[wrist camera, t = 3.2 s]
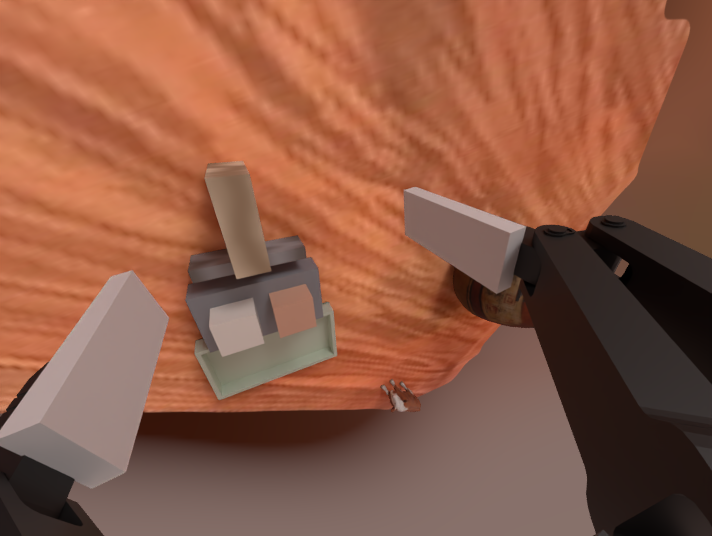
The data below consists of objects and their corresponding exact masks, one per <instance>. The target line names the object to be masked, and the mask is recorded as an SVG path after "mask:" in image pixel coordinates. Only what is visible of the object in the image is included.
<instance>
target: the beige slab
mask: <svg viewBox="0 0 712 536" xmlns="http://www.w3.org/2000/svg"><path fill="white" fill-rule="evenodd" d="M205 182H206V185H207V188H208V191H209V194H210V197H211V200H212V203H213V207H214V210H215V213H216V216H217V219H218V222H219V225H220V229H221V232H222V235H223V238H224V241H225V244H226V247H227V249H223V250H218V251H212V252H207V253H202V254H197V255H191V258H190V263H189V268H188V273H189V275H190V278H191V280H192V282H193V283H197V282H202V281H206V280H211V279H215V278H220V277H224V276H229V275H233V274H235V276H236V279H240V278H244V277H249V276H253V275H257V274H262V273H266V272H270V271H271V267H270V266H273V265H278V264H282V263H287V262H291V261H296V260H300V259H305V258H306V251H305V246H304V245H303V243H302V242H301V240H300V239H299V237H298V235H297V236H292V237H287V238H281V239H276V240H271V241H265V240H264V236H263V231H262V227H261V223H260V218H259V214H258V209H257V205H256V200H255V196H254V192H253V187H252V183H251V178H250V174H249V172H248V170H247V168H246V166H245V164H244V162H243V161H236V162H223V163H210V164H208V166H207V170H206V174H205Z"/></svg>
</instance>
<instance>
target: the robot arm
mask: <svg viewBox="0 0 712 536" xmlns="http://www.w3.org/2000/svg"><path fill="white" fill-rule="evenodd" d="M404 214H405V235H406V236H408V237H409V238H411V239H412V240H414V241H416V242H417V243H419V244H420V245H422V246H423V247H425V248H426V249H428V250H429V251H431V252H433V253H434V254H436V255H437V256H439V257H440V258H442V259H443V260H445V261H446V262H448V263H450V264H451V265H453V266H454V267H456V268H457V269H459V270H460V271H462V272H464V273H465V274H467V275H468V276H470V277H471V278H473V279H474V280H476V281H477V282H479V283H481V284H482V285H484V286H485V287H487V288H488V289H490V290H491V291H493V292H495V293H496V294H497V293H499V292H502V291H504V290H506V289H508V288H510V287H511V283H512V280H513V276H514V275H515V276H517V277H519V278H521V280H520V284H519V287H518V291H517V294H516V301H519V298H520V297H521V296H522V295H523V298H524V299H523V302H525V303H526V306H527V309H528V312H529V314H530V317H531V320H532V323H533V325H534V328H535V330H536V333H537V336H538V339H539V342H540V345H541V347H542V350H543V353H544V355H545V358H546V361H547V364H548V367H549V369H550V372H551V375H552V377H553V380H554V383H555V386H556V388H557V391H558V394H559V397H560V399H561V402H562V405H563V408H564V411H565V413H566V416H567V419H568V421H569V424H570V427H571V430H572V432H573V435H574V438H575V441H576V443H577V446H578V449H579V452H580V454H581V457H582V460H583V463H584V465H585V469H586V474H587V490H586V495H587V503H588V509H589V512H590V516H591V520H592V523H593V526H594V528H595V531H596V535H594V536H712V259H711V258H709V257H707V256H705V255H703V254H701V253H699V252H697V251H695V250H692V249H690V248H688V247H686V246H684V245H682V244H680V243H678V242H676V241H674V240H672V239H669V238H667V237H665V236H663V235H661V234H659V233H657V232H655V231H652V230H651V229H648V228H646V227H644V226H642V225H640V224H638V223H636V222H634V221H631V220H628V219H625V218H622V217H619V216H612V215H607V216H598V217H593V218H592V219H590V221H589V224H588V226H587V229H586V230H584V231H577V232H576V231H575V230H573V229H572V228H568V227H565V226H560V225H543V226H539V227H537V228H536V229H532V228H529V227H526V226H523V225H521V224H518V223H515V222H512V221H510V220H506V219H504V218H501V217H498V216H496V215H493V214H490V213H487V212H484V211H481V210H478V209H476V208H473V207H470V206H467V205H464V204H462V203H459V202H456V201H453V200H451V199H448V198H445V197H442V196H439V195H437V194H434V193H431V192H428V191H425V190H423V189H420V188H417V187H413V188H410V189H406V190H404ZM621 259H623V260H625V261H627V262H628V263H629V265H628V267H627V269H626V271H625V273H624V274H623V275H622V277H619V276H617V275H616V274H614V272H615V271H616V269H617V267H618V265H619V263H620V261H621ZM168 320H169V317H168V316H167V314H166V313H165V312H164V310H163V309H162V308H161V307H160V305H159V304H158V303H157V301H156V300H155V299H154V297H153V296H152V295H151V294H150V292H149V291H148V290H147V288H146V287H145V286H144V285H143V283H142V282H141V281H140V279H139V278H138V277H137V275H136V274H135V273H134V272H133V270H132V271H128V272H125V273H121V274H118V275H115V276H111V277H110V278H109V280H108V281H107V283H106V284H105V285H104V287H103V288H102V290H101V291H100V292H99V294H98V295H97V296H96V298H95V299H94V301H93V302H92V303H91V305H90V306H89V308H88V309H87V310H86V312H85V313H84V315H83V316H82V317H81V319H80V320H79V321H78V323H77V324H76V326H75V327H74V328H73V330H72V331H71V333H70V334H69V335H68V337H67V338H66V339H65V341H64V342H63V344H62V345H61V346H60V348H59V349H58V351H57V352H56V353H55V355H54V356H53V357H52V359H51V360H50V362H47V363H46V364H45V365H44V366H43V367H42V368H41V369H40V370H39V371H37V372H36V373H35V374H34V375H33V376H32V377H31V378H30V379H29V380H28V381H27V382H26V384H25V385H24V386H23V388H22V389H21V390H20V392H19V393H18V394H17V398H15V399H14V400H13V401H12V402H11V404H10V405H9V406H8V408H7V409H6V410H7V412H5V413H3V414H2V416H1V417H0V536H104V535H103V534H102V533H101V531H100V530H99V529H98V528H97V527H96V525H95V524H94V523H93V521H92V520H91V519H90V518H89V516H88V515H87V514H86V513H85V511H84V510H83V509H82V508H81V506H80V505H79V504H78V503H77V502H75V501H72V500H70V499H68V498H67V497H68V494H69V492H70V489H71V487H72V485H73V483H74V481H77V482H79V483H81V484H83V485H85V486H87V487H89V488H94V487H96V486H98V485H100V484H102V483H104V482H107V481H109V480H111V479H113V478H115V477H117V476H119V475H121V474H123V473H125V472H126V470H127V466H128V463H129V459H130V456H131V452H132V449H133V445H134V441H135V438H136V434H137V431H138V427H139V424H140V420H141V416H142V413H143V409H144V406H145V402H146V399H147V395H148V392H149V388H150V384H151V381H152V377H153V374H154V370H155V367H156V363H157V359H158V356H159V352H160V349H161V345H162V342H163V338H164V334H165V331H166V327H167V324H168Z"/></svg>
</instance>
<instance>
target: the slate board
mask: <svg viewBox="0 0 712 536" xmlns="http://www.w3.org/2000/svg"><path fill="white" fill-rule="evenodd" d="M270 267H271V271H270V272H266V273H262V274H257V275H253V276H249V277H244V278H240V279H236V276H235V274H233V275H229V276H224V277H220V278H215V279H211V280H207V281H202V282H198V283H193V284H189V285H188V289H187V294H186V300H185V301H186V303H187V305H188V307H189V309H190V311H191V313H192V316H193V318H194V320H195V322H196V324H197V326H198V328H199V330H200V332H201V335H202V337H203V339H204V341H205V343H206V345H207V347H208V349H209V351H210V353H211V352H214V351H218V350H219V349H218V346H217V344H216V342H215V340H214V337H213V335H212V333H211V330H210V328H209V320H210V309H211V308H215V307H218V306H222V305H226V304H230V303H234V302H238V301H241V300H245V299H249V298H253V300H254V303H255V307H256V310H257V313H258V317H259V320H260V324H261V328H262V333H263V336H265V335H268V334H272V333H275V332H278V328H277V325H276V321H275V317H274V313H273V309H272V305H271V300H270V296H269V293H272V292H276V291H280V290H284V289H288V288H292V287H295V286H299V285H303V284H306V285H307V287H308V289H309V291H310V293H311V295H312V297H313V303H314V310H315V318H316V319H319V318H322V317H323V308H322V299H321V290H320V281H319V271H318V267H317V266H316V264H315V263H314V261H313V259H312V258H311V257H309V258H305V259H300V260H296V261H292V262H287V263H283V264H278V265H274V266H270Z"/></svg>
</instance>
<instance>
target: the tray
mask: <svg viewBox="0 0 712 536" xmlns="http://www.w3.org/2000/svg"><path fill="white" fill-rule="evenodd" d="M322 308H323V317H322V318H319V319H316V325H317V326H316V327H313V328H310V329H307V330H304V331H301V332H298V333H295V334H292V335H289V336H286V337H282V338H280V336H279V332H275V333H272V334H268V335H265V336H263V338H264V344H261V345H258V346H255V347H252V348H249V349H246V350H242V351H239V352H236V353H233V354H230V355H227V356H224V357H222V355H221V353H220V351H219V350H218V351H214V352H211V353H210V351H209V349H208V347H207V345H206V343H205V341H204V339H200V340H196V343H195V353H194V354H195V356H196V358H197V359H198V361H199V363H200V365H201V367H202V369H203V371H204V373H205V375H206V377H207V379H208V381H209V382H210V384H211V386H212V388H213V390H214V392H215V394H216V396H217V398H218V400H221V399H224V398H226V397H229V396H232V395H234V394H237V393H240V392H242V391H245V390H248V389H250V388H253V387H256V386H258V385H261V384H263V383H266V382H269V381H271V380H274V379H277V378H279V377H282V376H285V375H287V374H290V373H293V372H295V371H298V370H301V369H303V368H306V367H308V366H311V365H314V364H316V363H319V362H322V361H324V360H327V359H330V358H332V357H335V356H337V349H336V336H335V324H334V312H333V309H332V307H331V306H330V304H329V302H326V303H322Z"/></svg>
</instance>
